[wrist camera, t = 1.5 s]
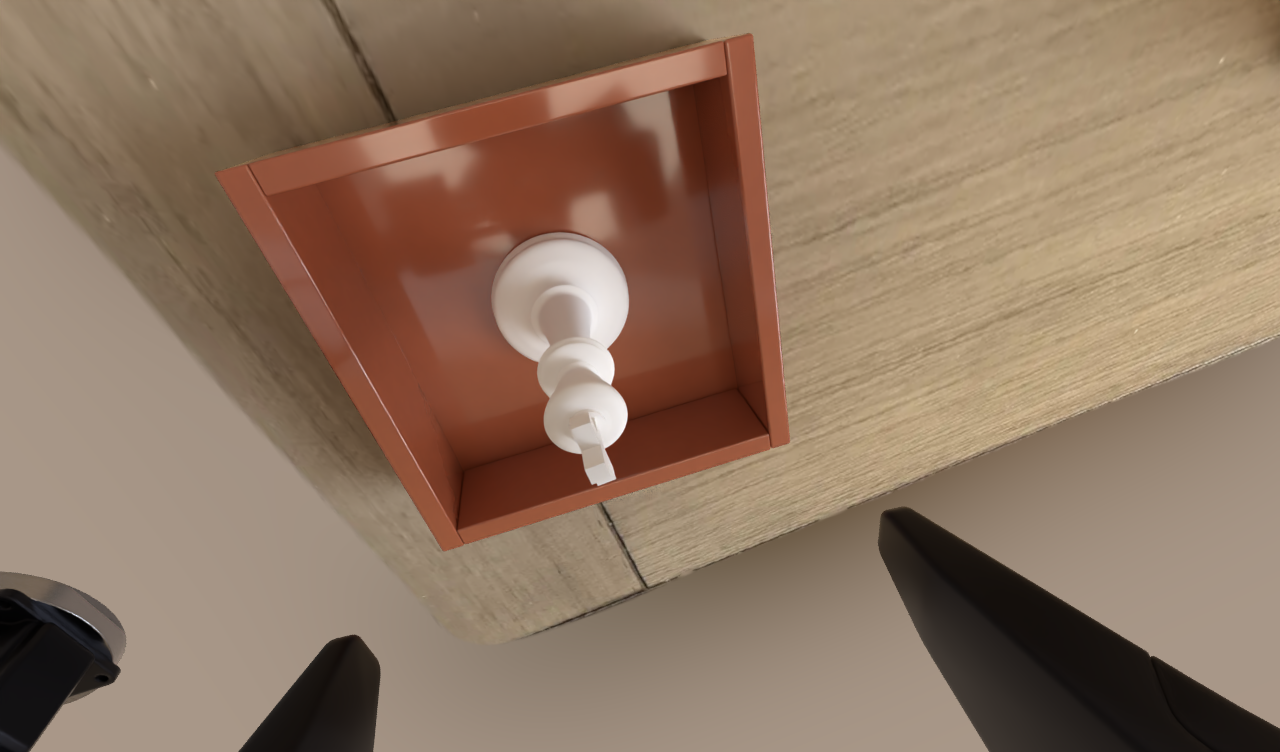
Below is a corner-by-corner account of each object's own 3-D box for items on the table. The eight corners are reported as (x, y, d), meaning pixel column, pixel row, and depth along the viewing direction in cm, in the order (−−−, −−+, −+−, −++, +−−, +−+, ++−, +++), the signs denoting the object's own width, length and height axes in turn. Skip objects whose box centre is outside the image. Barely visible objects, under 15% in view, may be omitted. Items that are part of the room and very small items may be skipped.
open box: (452, 484, 23) (442, 552, 20) (273, 152, 16) (212, 172, 13) (753, 393, 24) (791, 443, 21) (707, 39, 17) (753, 32, 14)
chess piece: (525, 377, 21) (533, 588, 12) (466, 261, 18) (426, 425, 10) (644, 332, 21) (733, 511, 12) (602, 211, 18) (679, 330, 10)
